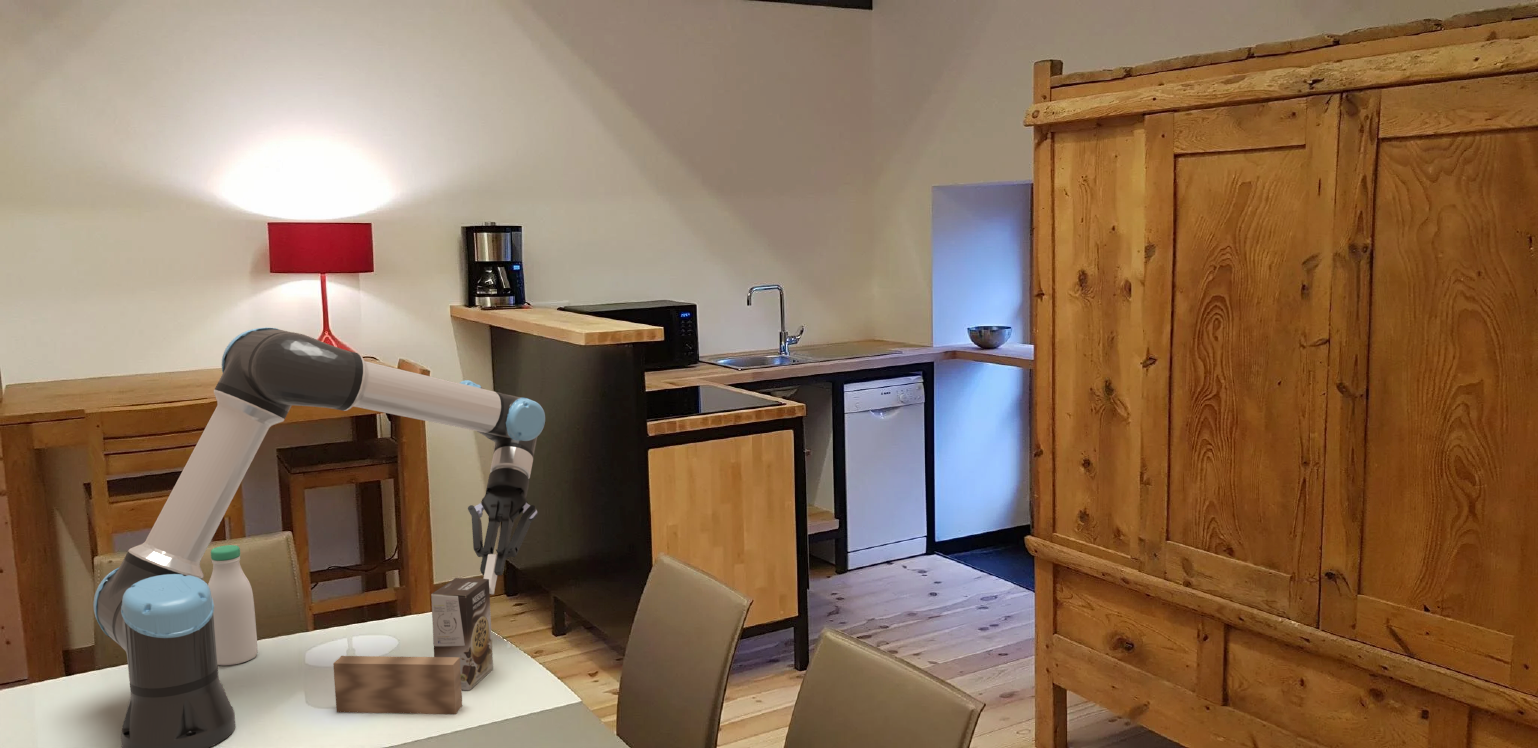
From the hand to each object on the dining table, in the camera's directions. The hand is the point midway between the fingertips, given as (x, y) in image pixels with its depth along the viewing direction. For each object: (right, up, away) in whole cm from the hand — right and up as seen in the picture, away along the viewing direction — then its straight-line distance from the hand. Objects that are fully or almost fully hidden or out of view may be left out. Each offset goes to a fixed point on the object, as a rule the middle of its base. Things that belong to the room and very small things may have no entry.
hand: (487, 590), depth 201 cm
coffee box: (-1, -13, -11) cm, 17 cm away
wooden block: (-8, -14, -22) cm, 28 cm away
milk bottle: (-44, -12, -1) cm, 46 cm away
